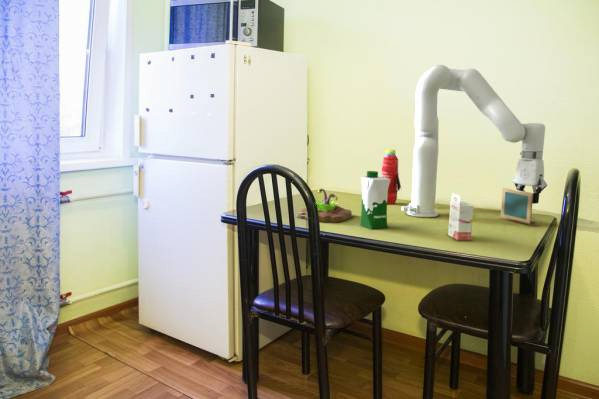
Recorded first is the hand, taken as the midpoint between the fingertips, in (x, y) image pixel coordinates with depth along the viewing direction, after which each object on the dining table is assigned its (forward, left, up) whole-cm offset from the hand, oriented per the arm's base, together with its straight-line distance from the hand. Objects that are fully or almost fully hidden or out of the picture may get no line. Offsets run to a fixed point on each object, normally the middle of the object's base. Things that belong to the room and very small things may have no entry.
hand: (527, 201), depth 196 cm
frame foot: (-4, 0, -8) cm, 9 cm away
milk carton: (-61, +13, -8) cm, 63 cm away
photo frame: (-6, 0, -1) cm, 6 cm away
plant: (-70, +35, -8) cm, 79 cm away
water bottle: (-28, +51, -8) cm, 59 cm away
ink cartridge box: (-43, -12, -8) cm, 46 cm away
